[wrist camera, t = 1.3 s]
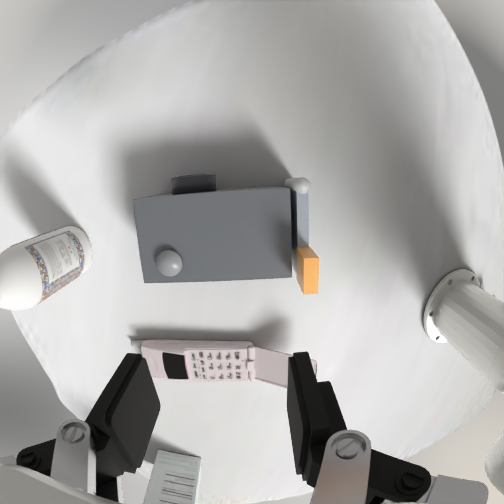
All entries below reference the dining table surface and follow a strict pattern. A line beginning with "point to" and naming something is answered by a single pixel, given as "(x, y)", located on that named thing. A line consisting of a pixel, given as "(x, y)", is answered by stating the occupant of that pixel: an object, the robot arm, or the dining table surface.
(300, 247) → the side door
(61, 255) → the bath foam
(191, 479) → the supplement box
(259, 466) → the dining table surface
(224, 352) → the mobile phone
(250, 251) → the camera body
